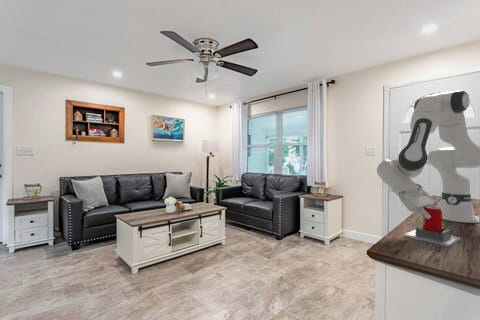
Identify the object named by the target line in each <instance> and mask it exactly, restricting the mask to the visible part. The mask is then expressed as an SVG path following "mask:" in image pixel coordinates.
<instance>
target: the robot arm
mask: <svg viewBox="0 0 480 320" xmlns="http://www.w3.org/2000/svg"><path fill="white" fill-rule="evenodd" d="M470 101H471V100H470V96H469V94H468V93H467V92H466V91H464V90H454V91H446V92H440V93H436V94H432V95H431V94H430V95H426V96H423V97H420V98H418V99H417V100H416V101H415V103H414V105H413V110H414V111H413V112H412V116H411V119H410V123H409V124H410V125H409V126H410V127H409V129H410V131H411V134H410V137H409V140H408V143H407V144H406V145H405V146H404V148H402V149H401V151H400V152H399V153H398V158H397V159H395V158H394V159H384V160H383V161H381V162H380V163H379V164H378V166H377V168H376V173H377V175H378V176H379V178H380V179H381V180H382V181H383V183H384V184H385V185H387V186H388V187H390V189H391V191H392V192H393V193H394V194H395V195H396V196H397V197H398V198H399V200H400V202H401V203H402V204H403V205H404V206H405V208H406V209H407V210H409V212H411V213H415V212H417V213H419V214H420V215H422V217H423V216H425V217H426V218H427V219H430V218H431V217H432V215H431V214H430V213H428V212H426V211H425V209H424V207H425V206H434V205H435V204H436V201H435V199H434V198H433V197H432V196H431V195H430V194H429V193H428V192H427V191H426V190H424V189H423V188H424V186H422V185H421V184H419V183H416V182H414V181H413V180H412V179H413V178H417V177H418V176H419V175H421V173H422V172H423V170H424V168H425V165H426V164H427V162H428V164H430V166H432V167H433V168H434V169H436V170H437V172H438V173H439V175H440V177H441V183H442V184H441V185H442V192H441V196H440V197H441V200H440V201H439V202H437V207H440V209H441V211H442V220H445V221H450V222H456V223H469V224H470V223H473V224H480V216H478V215H477V214H476V212H475V211H474V205H473V204H472V202H471V201H472V195H471V192H470V191H471V189H470V187H471V184H470V183H471V182H470V179H469V178H468V177H466V176H465V175H463V174H461V173H460V172H458V171H457V169H477V168H480V146H479V145H478V144H476V143H475V142H474V141H473V140H472V139H471V137H470V136H469V134H468V129H467V125H466V117H465V113H464V112H465V111H466V110H467V109H468V108H469V106H470ZM436 129H438V135H439V138H440V140H441V141H442V142H444V143H446V144H448V145H449V144H450V145H451V146H452V147H440V148H434V149H431V150H430V151H429V152H428V153H427V149H426V146H427V143H428V139H429V136H430V135H431V134H433V133H435V131H436Z"/></svg>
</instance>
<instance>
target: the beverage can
mask: <svg viewBox="0 0 480 320" xmlns="http://www.w3.org/2000/svg"><path fill="white" fill-rule="evenodd" d="M424 209H425V211H426V212H428V213H430V214H431V215H432V217H431V218H430V219H427V218H426V217H425V216H423V215H422V229H425V230H430V231H435V232H439V233H441V232H442V228H443V219H442V211H441V209H440V207H438V206H434V205H432V206H425V207H424Z"/></svg>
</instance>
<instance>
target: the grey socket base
mask: <svg viewBox="0 0 480 320" xmlns="http://www.w3.org/2000/svg"><path fill="white" fill-rule="evenodd" d="M403 236H404V237H405V238H409V239H414V240H418V241H422V242H427V243H431V244H435V245H438V246H443V247H448V248H450V247H452V246H453V245H454V244H456V243H458V242H460V240H461V237H460V236H455V235H452V229H450V228H444V227H442V232H441V233H439V232H435V231H430V230H425V229H423V228H421V227H419V228H418V227H415V229H413V230H411V231H409V232H406V233H404V234H403Z"/></svg>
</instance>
